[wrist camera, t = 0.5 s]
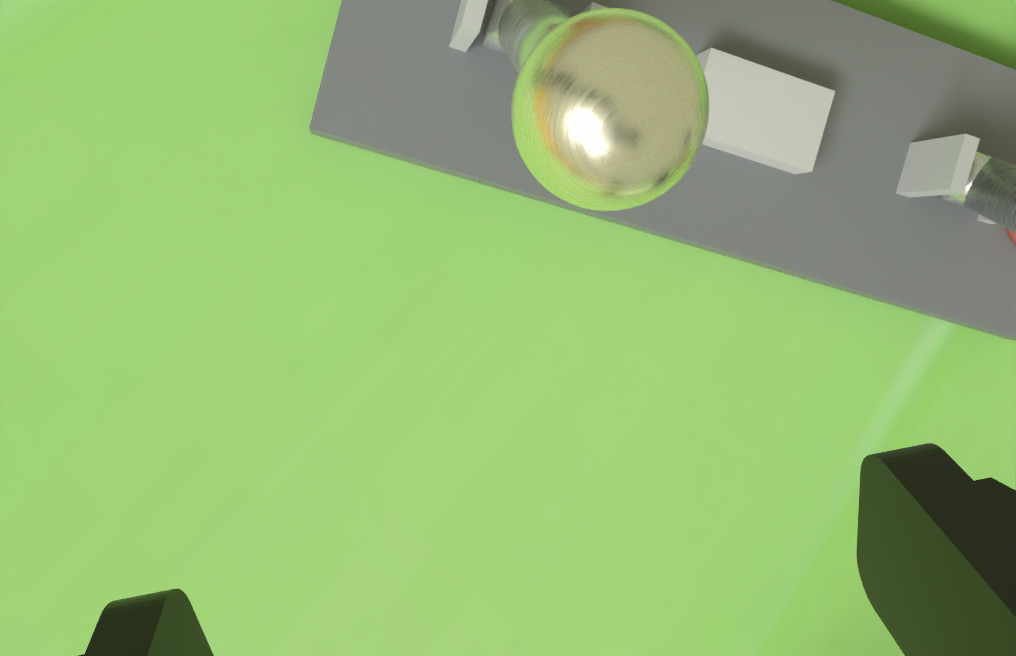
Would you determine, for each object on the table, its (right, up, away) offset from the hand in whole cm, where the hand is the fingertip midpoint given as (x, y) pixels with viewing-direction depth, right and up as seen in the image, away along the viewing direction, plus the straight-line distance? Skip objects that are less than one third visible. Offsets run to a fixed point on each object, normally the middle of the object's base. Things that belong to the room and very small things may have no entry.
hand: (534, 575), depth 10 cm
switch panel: (+8, +11, +23) cm, 27 cm away
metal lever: (0, +13, +18) cm, 22 cm away
